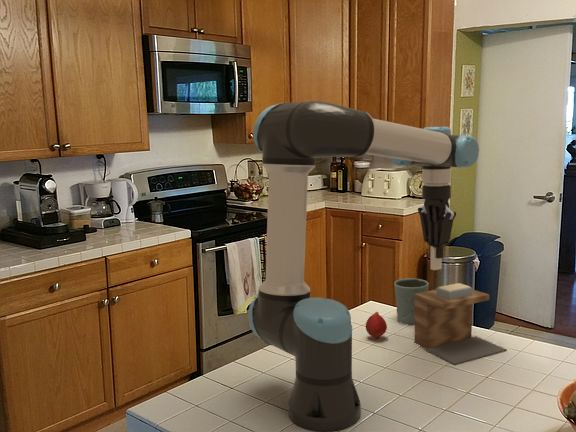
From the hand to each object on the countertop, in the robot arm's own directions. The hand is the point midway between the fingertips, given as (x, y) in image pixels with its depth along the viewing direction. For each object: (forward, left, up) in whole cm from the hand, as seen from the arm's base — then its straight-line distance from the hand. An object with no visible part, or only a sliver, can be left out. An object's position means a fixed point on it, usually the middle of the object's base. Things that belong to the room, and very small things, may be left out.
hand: (436, 268), depth 158 cm
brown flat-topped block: (0, -7, -20) cm, 21 cm away
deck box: (0, -8, -6) cm, 9 cm away
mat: (0, -12, -20) cm, 23 cm away
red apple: (-15, +7, -20) cm, 26 cm away
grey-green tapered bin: (+3, +14, -20) cm, 24 cm away
